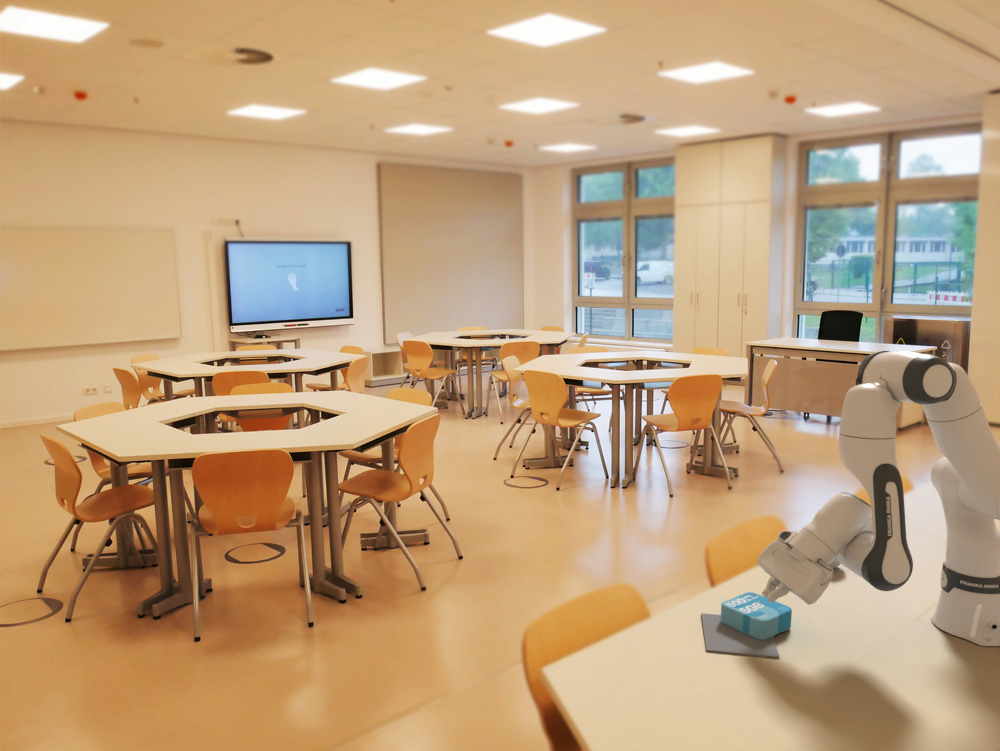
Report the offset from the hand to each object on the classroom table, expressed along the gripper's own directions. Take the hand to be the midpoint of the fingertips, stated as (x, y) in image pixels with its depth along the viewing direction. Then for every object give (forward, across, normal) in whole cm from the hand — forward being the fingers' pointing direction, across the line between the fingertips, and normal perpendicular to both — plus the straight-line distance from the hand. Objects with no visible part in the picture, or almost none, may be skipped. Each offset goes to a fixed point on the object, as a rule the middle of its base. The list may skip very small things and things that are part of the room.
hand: (766, 598), depth 168 cm
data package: (+2, +3, -9) cm, 10 cm away
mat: (+10, +5, -5) cm, 12 cm away
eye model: (-20, +39, -36) cm, 56 cm away
